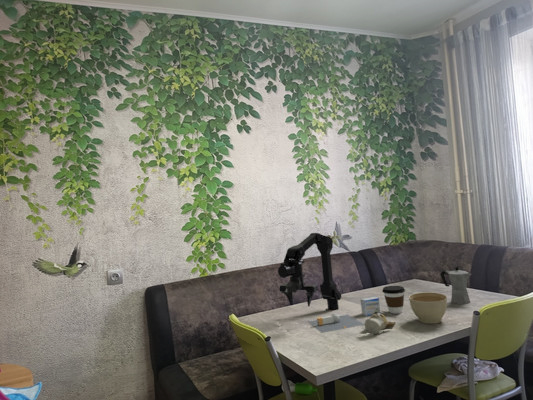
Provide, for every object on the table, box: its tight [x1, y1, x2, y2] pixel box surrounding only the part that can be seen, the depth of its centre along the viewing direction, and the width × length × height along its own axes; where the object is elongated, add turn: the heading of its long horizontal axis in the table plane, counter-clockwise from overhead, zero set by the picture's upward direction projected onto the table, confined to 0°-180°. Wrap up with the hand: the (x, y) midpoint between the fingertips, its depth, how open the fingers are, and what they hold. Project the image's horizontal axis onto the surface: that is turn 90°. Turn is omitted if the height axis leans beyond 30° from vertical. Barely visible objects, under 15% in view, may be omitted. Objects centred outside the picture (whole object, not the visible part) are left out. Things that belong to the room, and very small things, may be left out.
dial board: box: [308, 314, 365, 334], centre depth 186 cm, size 18×21×2 cm
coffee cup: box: [382, 285, 406, 315], centre depth 197 cm, size 11×11×12 cm
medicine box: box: [360, 296, 381, 317], centre depth 195 cm, size 8×4×9 cm, turn 105°
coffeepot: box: [439, 266, 472, 305], centre depth 203 cm, size 15×9×18 cm, turn 44°
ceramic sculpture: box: [364, 312, 396, 335], centre depth 173 cm, size 11×9×15 cm
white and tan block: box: [316, 313, 340, 325], centre depth 186 cm, size 11×4×3 cm, turn 104°
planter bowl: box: [408, 291, 448, 325], centre depth 179 cm, size 16×16×11 cm
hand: (300, 305), depth 191 cm, fingers open, 9 cm apart
